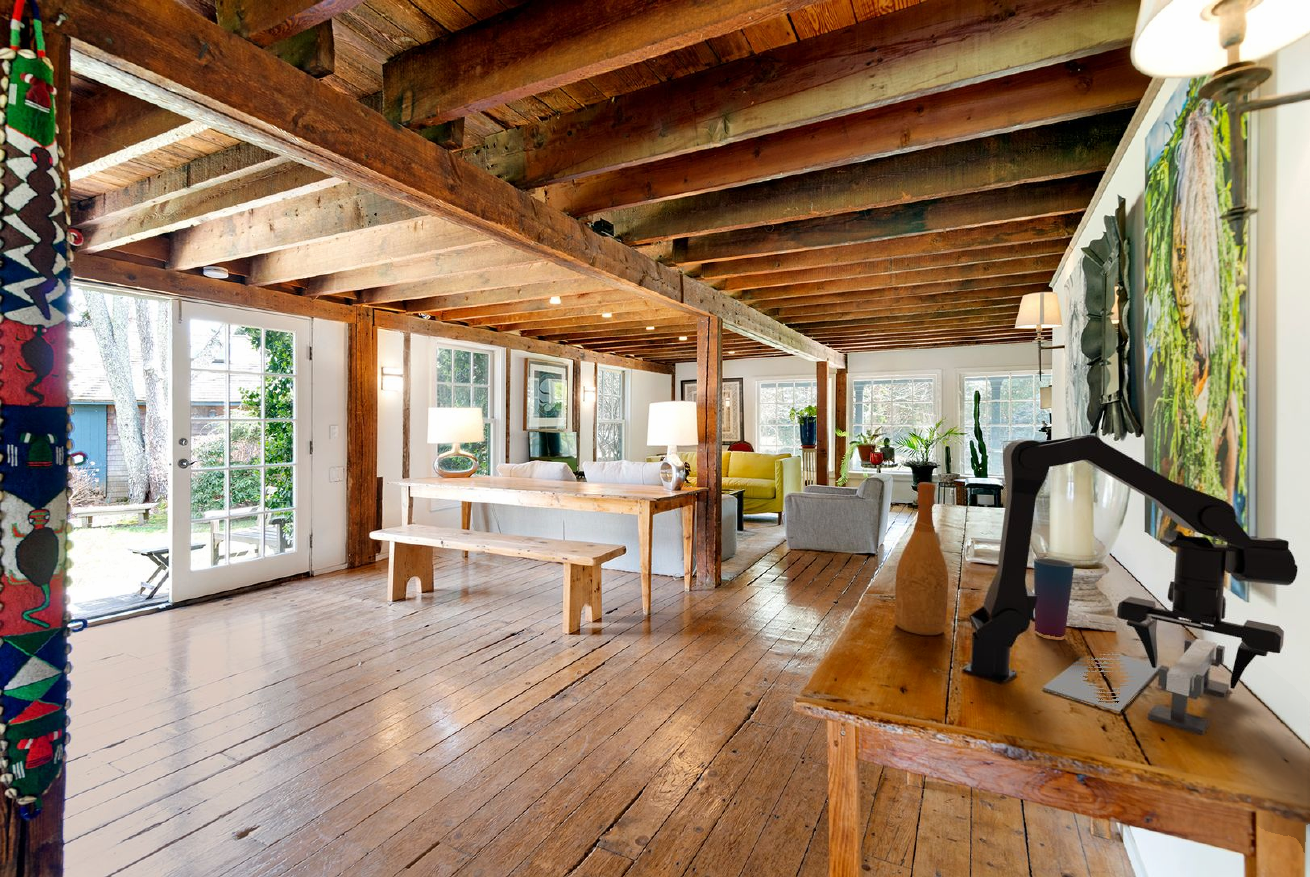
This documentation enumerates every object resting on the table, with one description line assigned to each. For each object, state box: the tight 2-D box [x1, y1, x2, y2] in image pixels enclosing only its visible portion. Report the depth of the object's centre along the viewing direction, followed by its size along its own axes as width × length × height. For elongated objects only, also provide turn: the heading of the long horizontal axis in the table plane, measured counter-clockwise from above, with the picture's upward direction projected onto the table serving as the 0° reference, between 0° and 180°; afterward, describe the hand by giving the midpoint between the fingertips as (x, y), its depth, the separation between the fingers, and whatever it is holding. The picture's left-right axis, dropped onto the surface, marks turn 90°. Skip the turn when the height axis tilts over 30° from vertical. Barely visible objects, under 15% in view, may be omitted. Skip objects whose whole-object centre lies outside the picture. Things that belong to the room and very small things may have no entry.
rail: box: [1166, 638, 1218, 696], centre depth 95 cm, size 23×2×2 cm, turn 131°
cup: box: [1033, 557, 1075, 637], centre depth 124 cm, size 7×7×15 cm
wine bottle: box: [894, 481, 949, 636], centre depth 125 cm, size 10×10×30 cm
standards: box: [1147, 637, 1230, 736], centre depth 95 cm, size 24×6×7 cm, turn 131°
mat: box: [1042, 652, 1162, 712], centre depth 104 cm, size 28×10×1 cm, turn 131°
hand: (1192, 677), depth 95 cm, fingers open, 9 cm apart
